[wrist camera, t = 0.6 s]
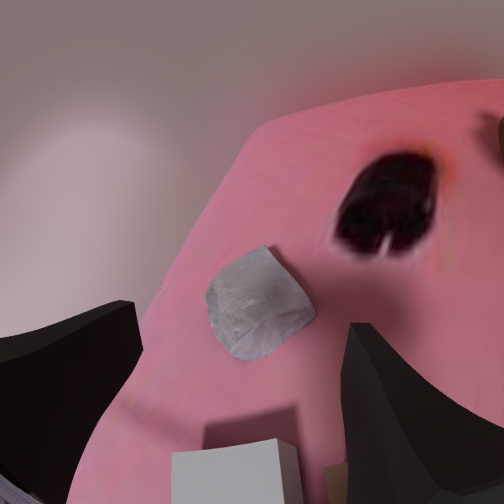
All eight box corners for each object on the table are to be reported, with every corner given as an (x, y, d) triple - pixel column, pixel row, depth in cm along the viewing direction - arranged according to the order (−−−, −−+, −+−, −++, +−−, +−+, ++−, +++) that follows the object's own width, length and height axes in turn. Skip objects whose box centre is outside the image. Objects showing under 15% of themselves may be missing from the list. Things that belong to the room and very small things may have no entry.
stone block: (253, 379, 29) (328, 312, 29) (221, 364, 27) (303, 287, 26) (220, 311, 39) (276, 256, 38) (193, 293, 36) (252, 232, 36)
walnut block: (415, 508, 13) (417, 514, 9) (352, 526, 14) (333, 536, 10) (403, 455, 16) (401, 444, 13) (343, 474, 17) (322, 468, 14)
